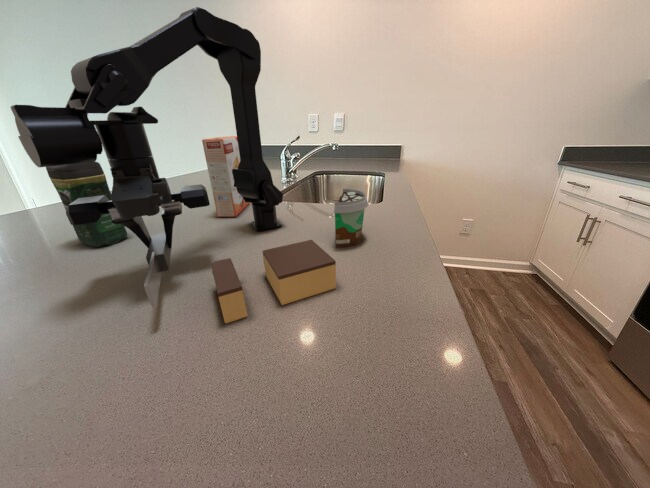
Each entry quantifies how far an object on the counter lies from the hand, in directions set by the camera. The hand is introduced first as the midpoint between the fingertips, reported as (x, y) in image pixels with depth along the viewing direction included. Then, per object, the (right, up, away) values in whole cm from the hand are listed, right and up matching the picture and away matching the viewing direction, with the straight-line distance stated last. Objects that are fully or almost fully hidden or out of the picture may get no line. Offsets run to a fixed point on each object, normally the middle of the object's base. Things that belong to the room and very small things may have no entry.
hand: (161, 249), depth 46 cm
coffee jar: (-23, +2, +15) cm, 27 cm away
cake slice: (+15, -8, -7) cm, 18 cm away
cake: (+25, -5, -3) cm, 26 cm away
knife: (+3, -4, -5) cm, 7 cm away
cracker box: (+1, +11, +34) cm, 36 cm away
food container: (+35, +2, +12) cm, 38 cm away
